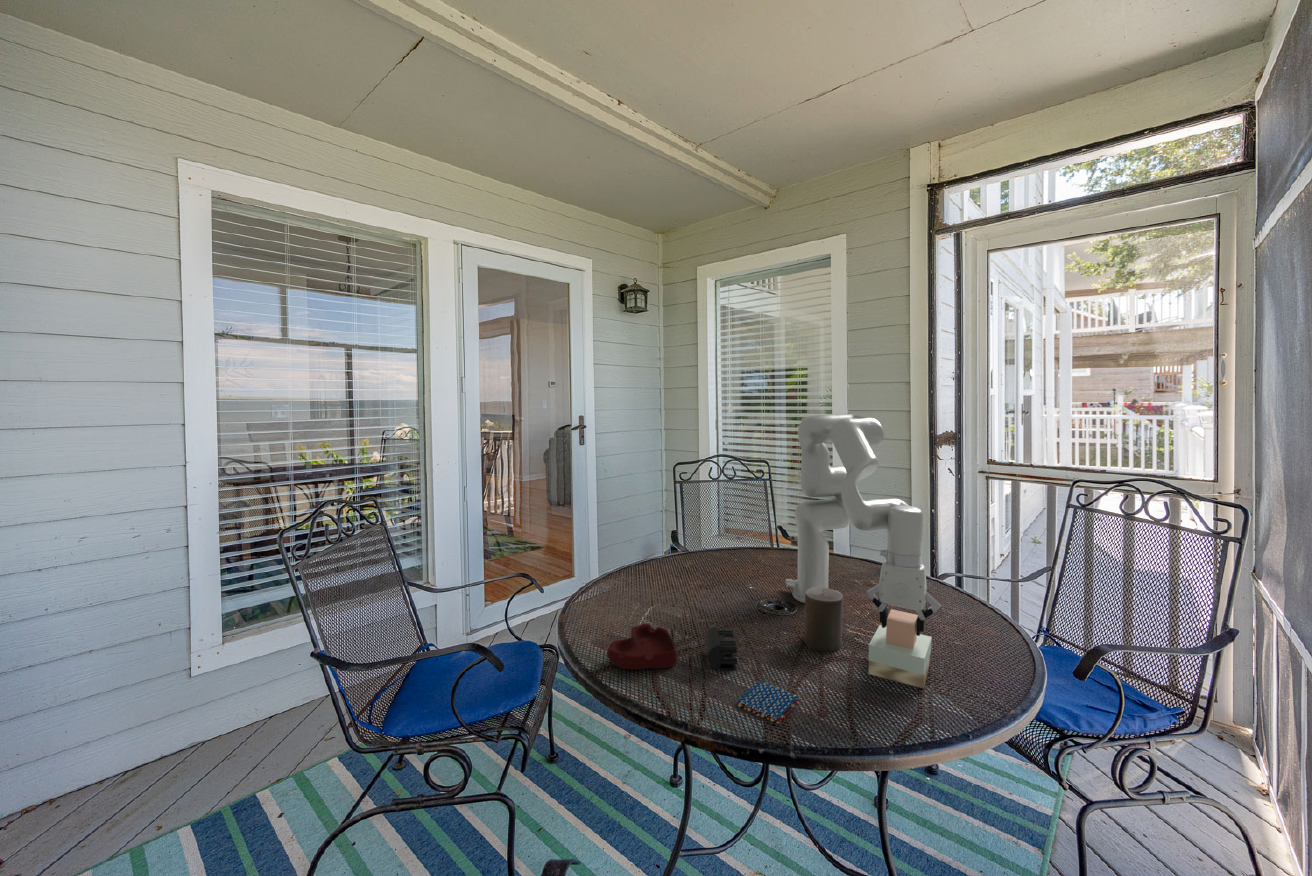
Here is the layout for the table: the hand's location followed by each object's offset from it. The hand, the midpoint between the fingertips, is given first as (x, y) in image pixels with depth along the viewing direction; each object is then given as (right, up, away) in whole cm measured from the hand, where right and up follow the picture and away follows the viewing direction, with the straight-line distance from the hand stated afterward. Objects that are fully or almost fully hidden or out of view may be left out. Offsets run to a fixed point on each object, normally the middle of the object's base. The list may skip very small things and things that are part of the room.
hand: (901, 629), depth 129 cm
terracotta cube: (0, -3, 0) cm, 3 cm away
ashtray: (-61, -11, +8) cm, 63 cm away
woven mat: (-34, -13, -11) cm, 39 cm away
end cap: (-43, -11, +7) cm, 45 cm away
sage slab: (0, -7, +1) cm, 7 cm away
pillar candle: (-14, -9, +15) cm, 22 cm away
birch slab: (0, -11, +1) cm, 11 cm away
